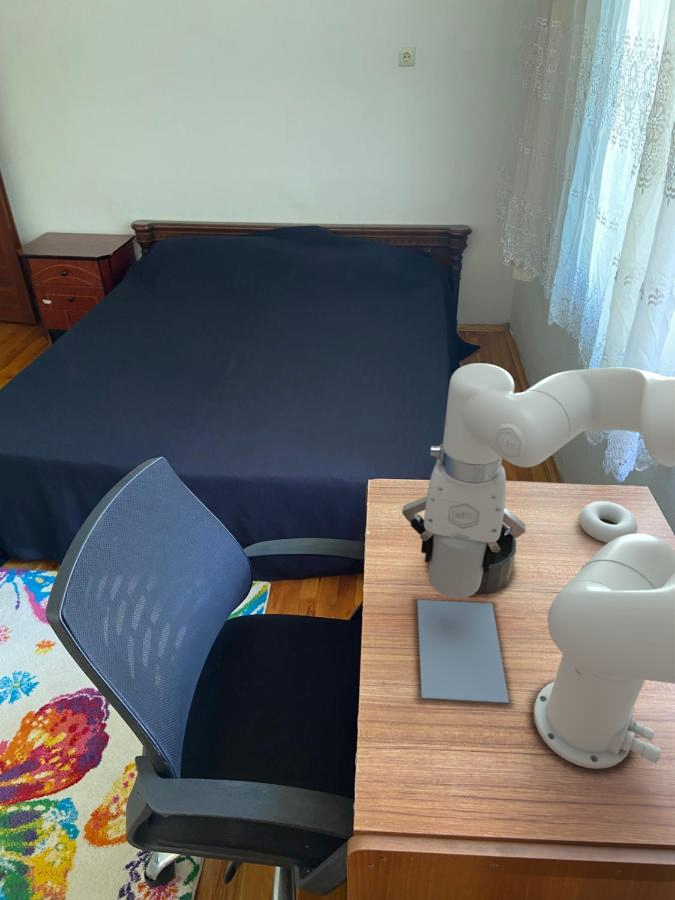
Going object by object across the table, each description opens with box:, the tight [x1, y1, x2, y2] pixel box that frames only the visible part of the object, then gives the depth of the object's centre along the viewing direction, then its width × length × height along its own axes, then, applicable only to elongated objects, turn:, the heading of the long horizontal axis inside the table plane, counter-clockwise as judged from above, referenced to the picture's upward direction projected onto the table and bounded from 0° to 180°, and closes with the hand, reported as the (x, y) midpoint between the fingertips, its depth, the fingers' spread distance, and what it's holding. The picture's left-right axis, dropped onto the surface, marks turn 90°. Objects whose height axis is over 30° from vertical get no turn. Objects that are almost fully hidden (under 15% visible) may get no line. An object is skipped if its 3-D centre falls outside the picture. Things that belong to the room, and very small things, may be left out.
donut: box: [579, 500, 638, 544], centre depth 118 cm, size 10×4×10 cm
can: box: [428, 534, 488, 599], centre depth 90 cm, size 8×8×12 cm
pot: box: [473, 522, 517, 595], centre depth 109 cm, size 14×14×6 cm
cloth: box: [416, 599, 510, 705], centre depth 96 cm, size 18×12×1 cm, turn 176°
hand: (457, 560), depth 91 cm, fingers closed on can, 7 cm apart
